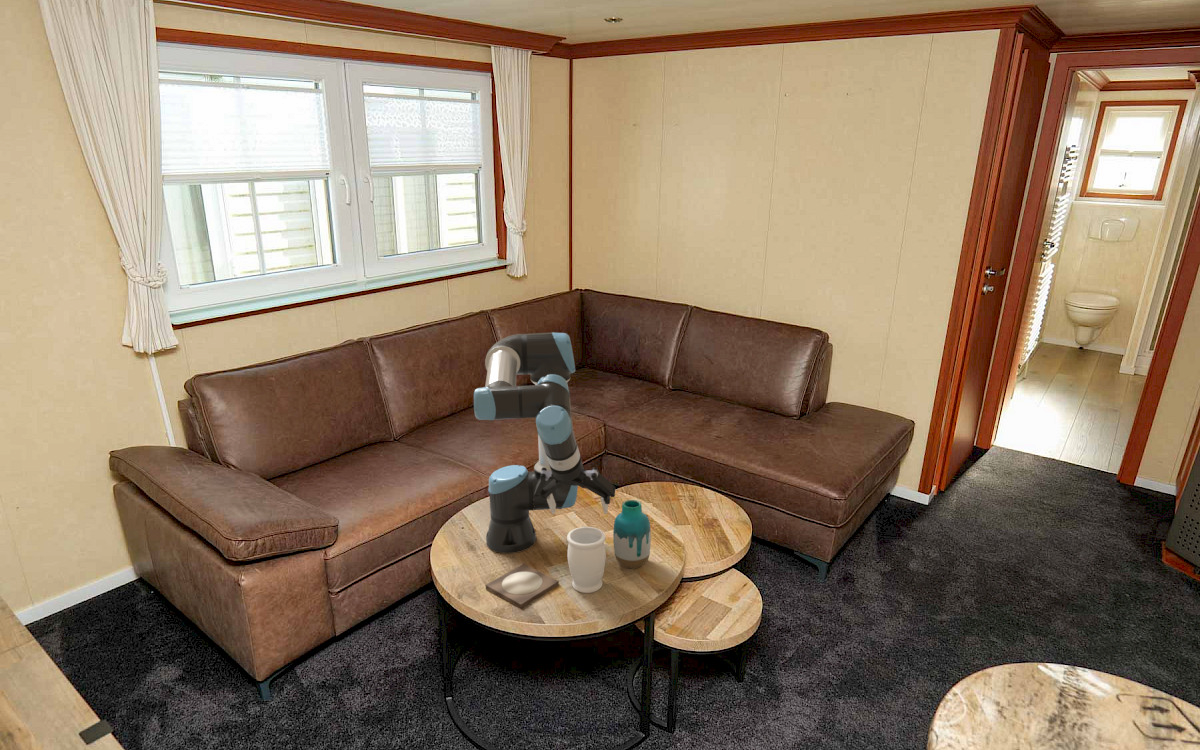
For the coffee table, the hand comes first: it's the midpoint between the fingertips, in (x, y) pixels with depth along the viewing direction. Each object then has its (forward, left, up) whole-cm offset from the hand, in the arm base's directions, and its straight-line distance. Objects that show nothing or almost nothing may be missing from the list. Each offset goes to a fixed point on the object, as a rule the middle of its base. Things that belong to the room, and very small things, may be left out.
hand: (579, 509), depth 176 cm
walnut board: (-16, -7, -26) cm, 31 cm away
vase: (0, +21, -26) cm, 34 cm away
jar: (-3, +5, -26) cm, 27 cm away
